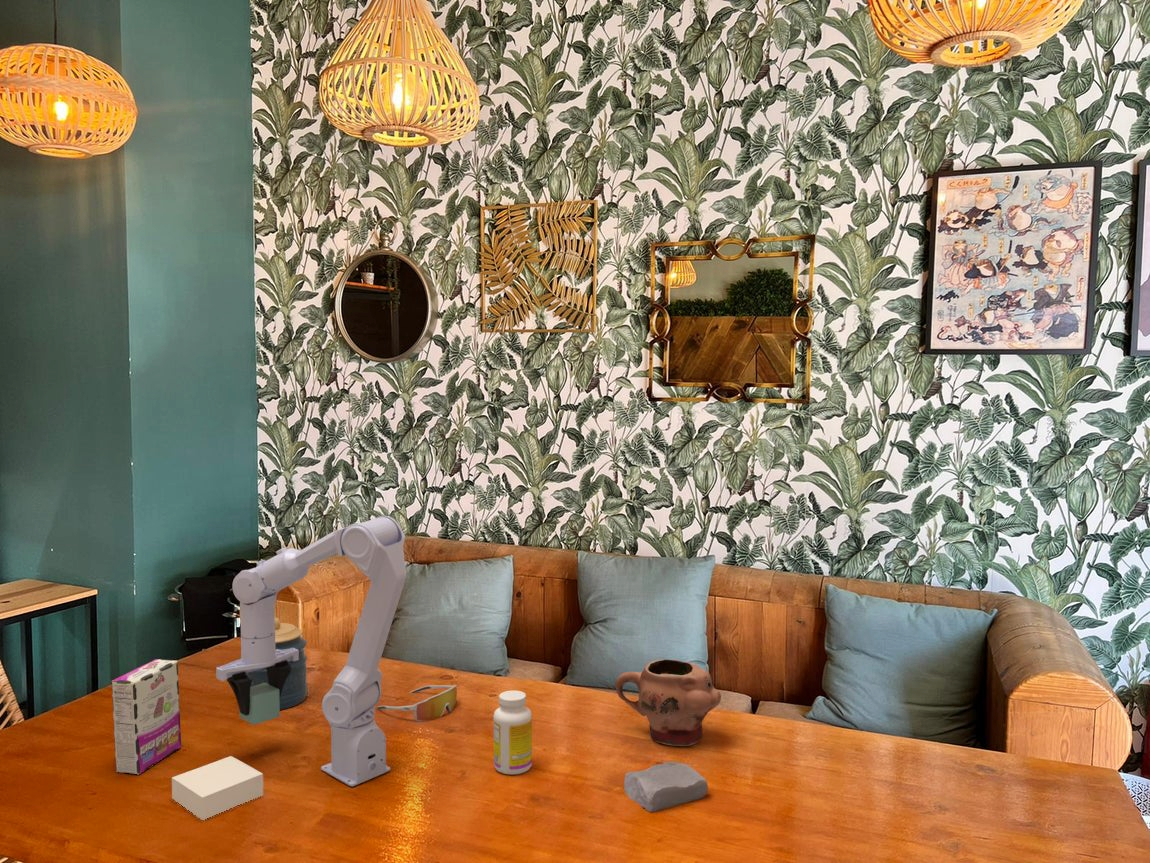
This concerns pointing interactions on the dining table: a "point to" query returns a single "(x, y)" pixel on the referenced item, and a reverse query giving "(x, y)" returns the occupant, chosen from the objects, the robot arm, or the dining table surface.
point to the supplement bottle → (512, 734)
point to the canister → (296, 680)
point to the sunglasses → (430, 703)
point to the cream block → (217, 787)
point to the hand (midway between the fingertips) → (259, 708)
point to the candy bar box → (146, 715)
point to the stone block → (665, 786)
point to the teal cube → (262, 704)
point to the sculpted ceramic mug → (672, 699)
